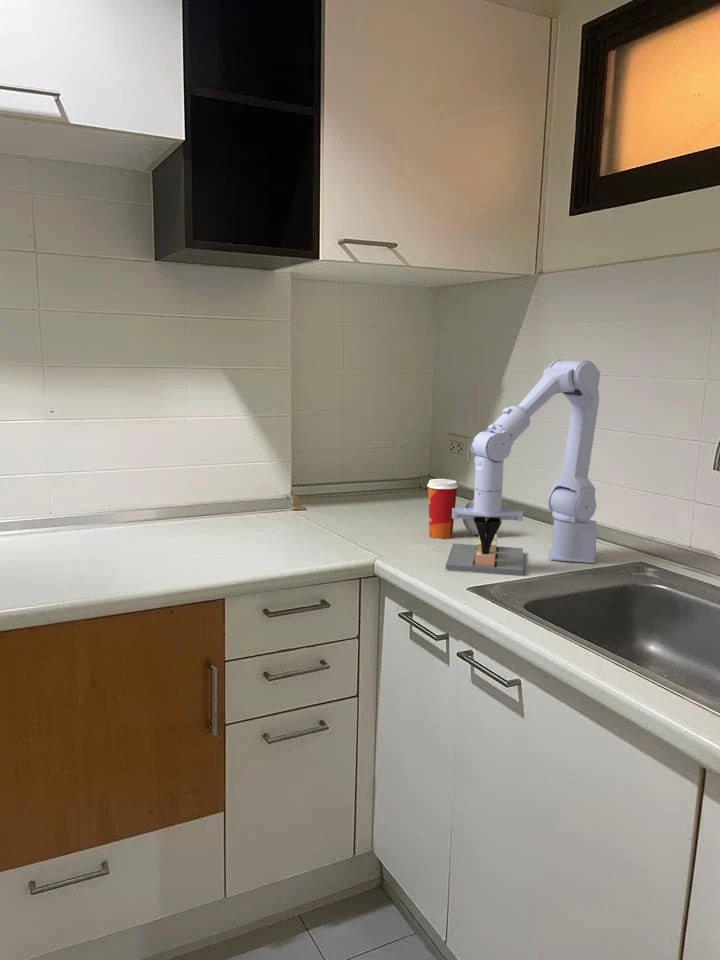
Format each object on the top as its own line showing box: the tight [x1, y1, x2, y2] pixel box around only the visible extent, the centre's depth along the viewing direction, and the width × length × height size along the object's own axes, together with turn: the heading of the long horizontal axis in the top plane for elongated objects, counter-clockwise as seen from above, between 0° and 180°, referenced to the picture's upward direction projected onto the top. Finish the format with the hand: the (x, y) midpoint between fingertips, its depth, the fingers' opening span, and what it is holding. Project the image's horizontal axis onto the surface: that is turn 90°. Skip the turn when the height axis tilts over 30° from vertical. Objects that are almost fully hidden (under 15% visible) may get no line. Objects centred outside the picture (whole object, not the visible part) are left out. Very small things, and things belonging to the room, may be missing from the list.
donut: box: [462, 498, 503, 537], centre depth 186 cm, size 10×3×10 cm, turn 84°
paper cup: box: [426, 478, 459, 540], centre depth 185 cm, size 8×8×14 cm
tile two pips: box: [476, 539, 497, 556], centre depth 164 cm, size 4×4×3 cm
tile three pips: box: [474, 550, 496, 567], centre depth 158 cm, size 4×4×3 cm
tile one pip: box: [477, 533, 498, 546], centre depth 170 cm, size 4×4×3 cm
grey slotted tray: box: [445, 543, 524, 577], centre depth 164 cm, size 16×18×1 cm
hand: (485, 552), depth 158 cm, fingers closed, pressing on tile three pips
